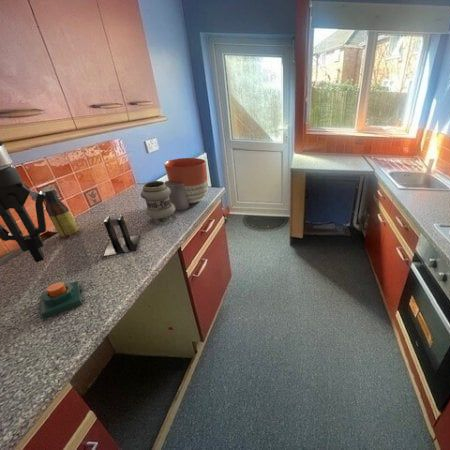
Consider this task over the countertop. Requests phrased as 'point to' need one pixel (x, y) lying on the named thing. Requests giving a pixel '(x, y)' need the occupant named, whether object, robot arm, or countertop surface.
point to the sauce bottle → (59, 214)
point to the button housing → (61, 300)
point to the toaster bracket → (120, 244)
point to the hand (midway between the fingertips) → (40, 258)
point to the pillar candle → (178, 195)
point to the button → (56, 289)
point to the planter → (189, 176)
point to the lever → (115, 222)
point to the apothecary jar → (158, 200)
